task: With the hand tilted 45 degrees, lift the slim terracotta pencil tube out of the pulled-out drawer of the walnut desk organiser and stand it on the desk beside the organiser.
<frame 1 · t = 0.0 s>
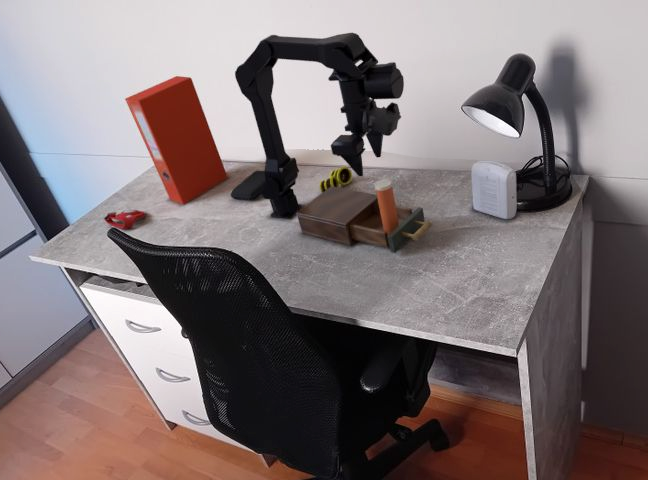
hand: (369, 166, 123), 15 cm above the table, tool pointing down, fingers open, 9 cm apart
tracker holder: (127, 222, 161), on the table
file binder: (200, 189, 170), on the table
pencil tube: (391, 230, 124), point 2 cm above the table, touching drawer
drawer: (390, 225, 123), point 3 cm above the table, slide at 11.0 cm, touching pencil tube
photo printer: (495, 212, 125), on the table
opera glasses: (337, 188, 151), on the table
organiser: (343, 225, 134), on the table
carrying case: (258, 190, 160), on the table
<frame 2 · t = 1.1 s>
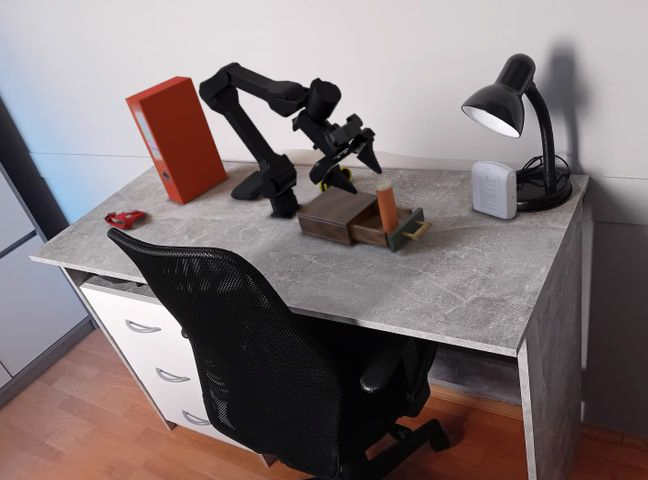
hand: (369, 183, 119), 13 cm above the table, tool tilted 45°, fingers open, 9 cm apart
nothing on the table moved.
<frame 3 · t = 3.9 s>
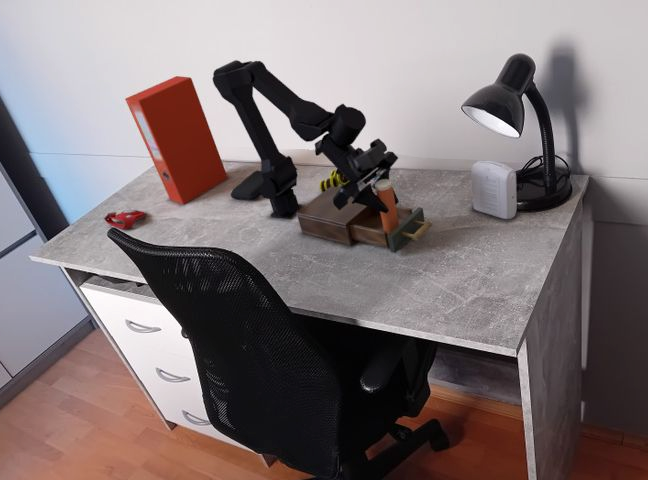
hand: (392, 207, 119), 8 cm above the table, tool tilted 45°, fingers closed on pencil tube, 3 cm apart
pencil tube: (391, 229, 124), point 2 cm above the table, touching drawer, gripper
everything else where it was.
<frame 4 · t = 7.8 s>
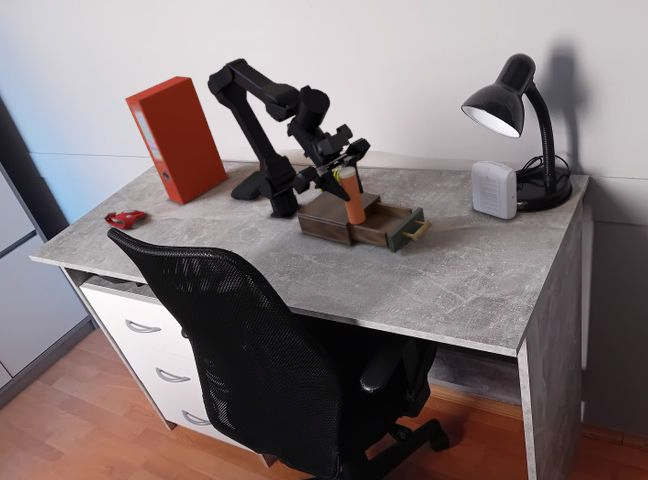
hand: (355, 196, 115), 14 cm above the table, tool tilted 45°, fingers closed on pencil tube, 3 cm apart
pencil tube: (357, 219, 120), point 7 cm above the table, touching gripper
drawer: (390, 225, 123), point 3 cm above the table, slide at 11.0 cm
everything else where it was.
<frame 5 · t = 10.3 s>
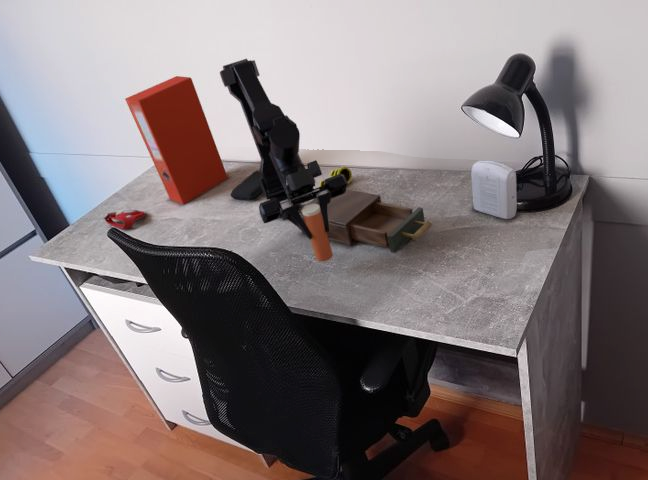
hand: (319, 235, 111), 11 cm above the table, tool tilted 45°, fingers closed on pencil tube, 3 cm apart
pencil tube: (324, 256, 116), point 5 cm above the table, touching gripper
everything else where it was.
when the fingers open (6 cm above the table, at t = 11.9 s): pencil tube stays where it is, on the table.
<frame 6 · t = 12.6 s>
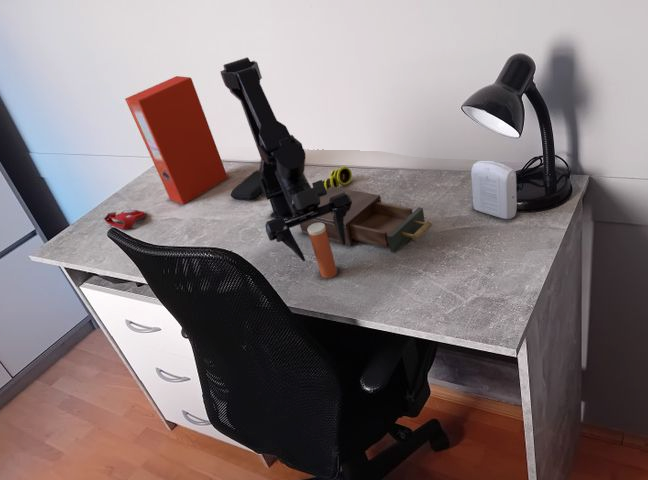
hand: (324, 252, 114), 6 cm above the table, tool tilted 45°, fingers open, 9 cm apart
pencil tube: (329, 273, 119), on the table
everything else where it was.
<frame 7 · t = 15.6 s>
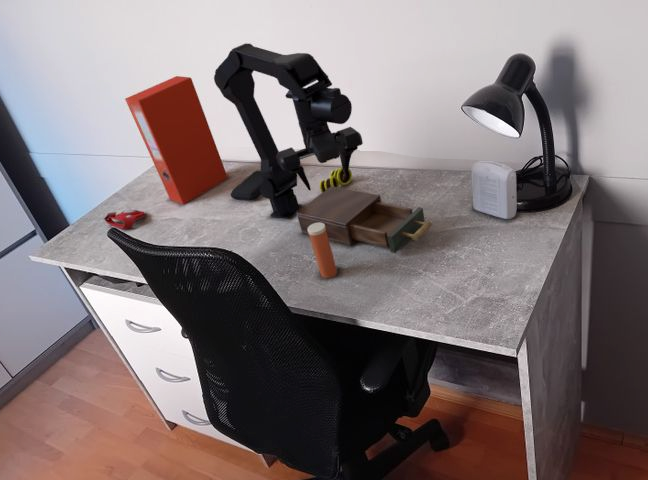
hand: (327, 183, 125), 13 cm above the table, tool pointing down, fingers open, 9 cm apart
nothing on the table moved.
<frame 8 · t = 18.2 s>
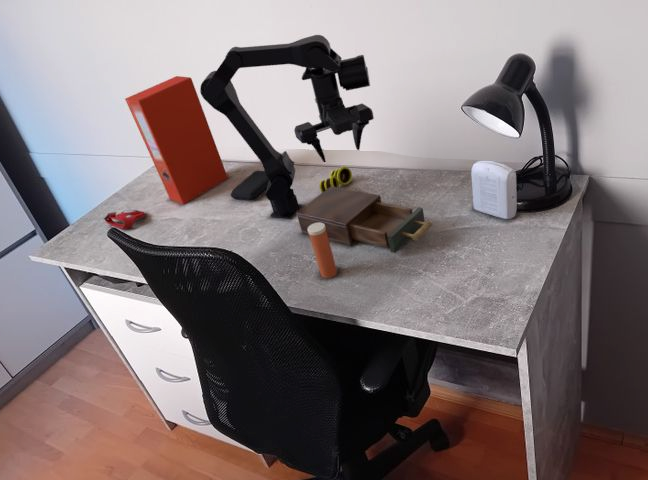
hand: (341, 155, 136), 13 cm above the table, tool pointing down, fingers open, 9 cm apart
nothing on the table moved.
at the end: pencil tube inside the target area (0.1 cm from its centre), on the table; pencil tube tilted 0° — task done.
